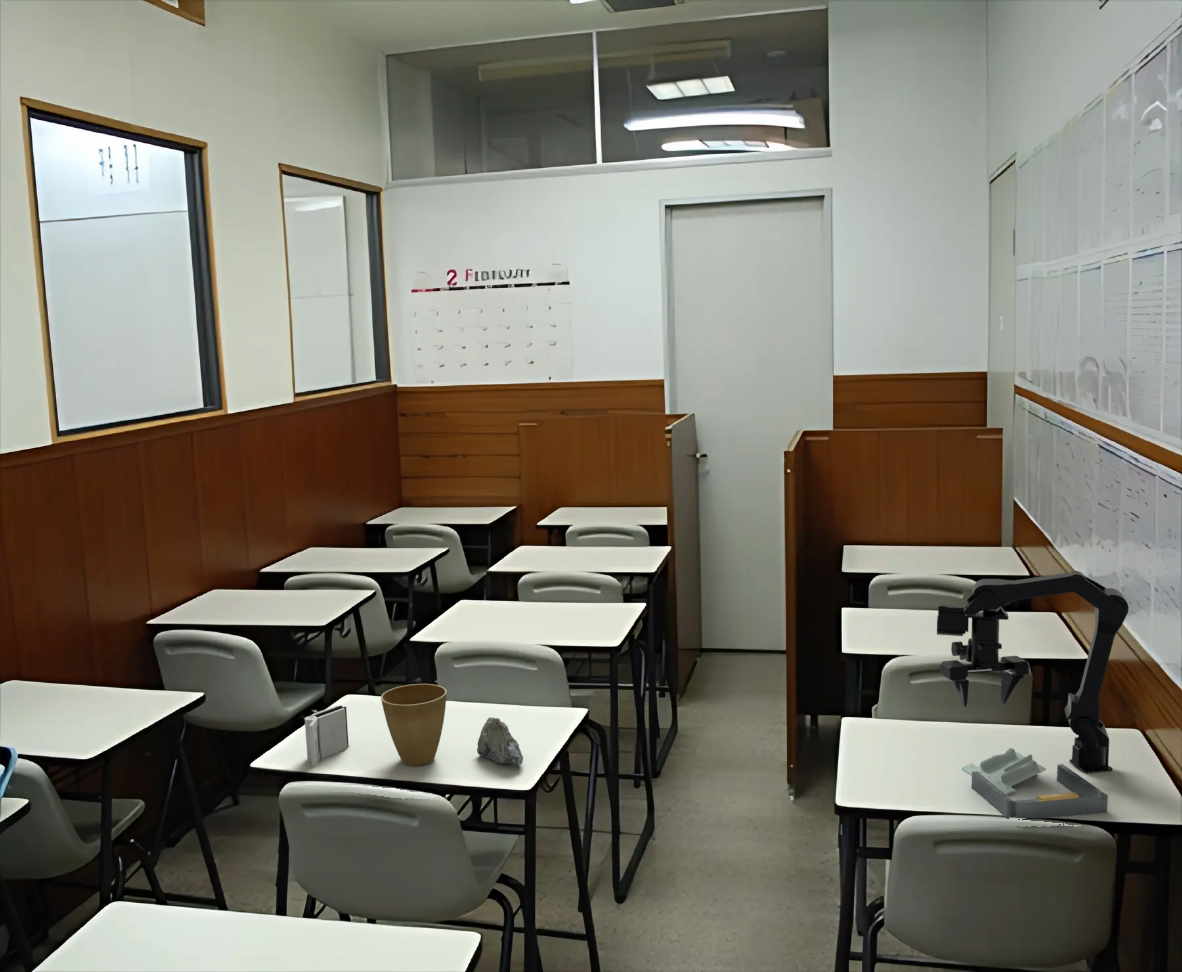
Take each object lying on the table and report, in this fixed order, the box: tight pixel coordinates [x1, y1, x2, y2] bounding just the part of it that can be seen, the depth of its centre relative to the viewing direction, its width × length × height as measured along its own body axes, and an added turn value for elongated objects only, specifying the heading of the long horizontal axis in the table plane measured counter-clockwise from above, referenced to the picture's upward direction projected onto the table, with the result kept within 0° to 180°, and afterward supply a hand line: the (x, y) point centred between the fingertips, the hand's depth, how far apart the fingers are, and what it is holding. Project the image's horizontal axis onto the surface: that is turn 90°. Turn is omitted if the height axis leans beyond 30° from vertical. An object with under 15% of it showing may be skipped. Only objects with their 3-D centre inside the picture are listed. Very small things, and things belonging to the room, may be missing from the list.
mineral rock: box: [476, 717, 524, 765], centre depth 251 cm, size 13×11×10 cm
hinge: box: [304, 705, 350, 768], centre depth 258 cm, size 13×8×10 cm, turn 0°
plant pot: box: [380, 683, 448, 767], centre depth 253 cm, size 15×15×16 cm
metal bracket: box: [961, 747, 1047, 796], centre depth 235 cm, size 14×6×15 cm
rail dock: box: [971, 763, 1109, 819], centre depth 224 cm, size 20×16×4 cm
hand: (983, 704), depth 246 cm, fingers open, 9 cm apart
